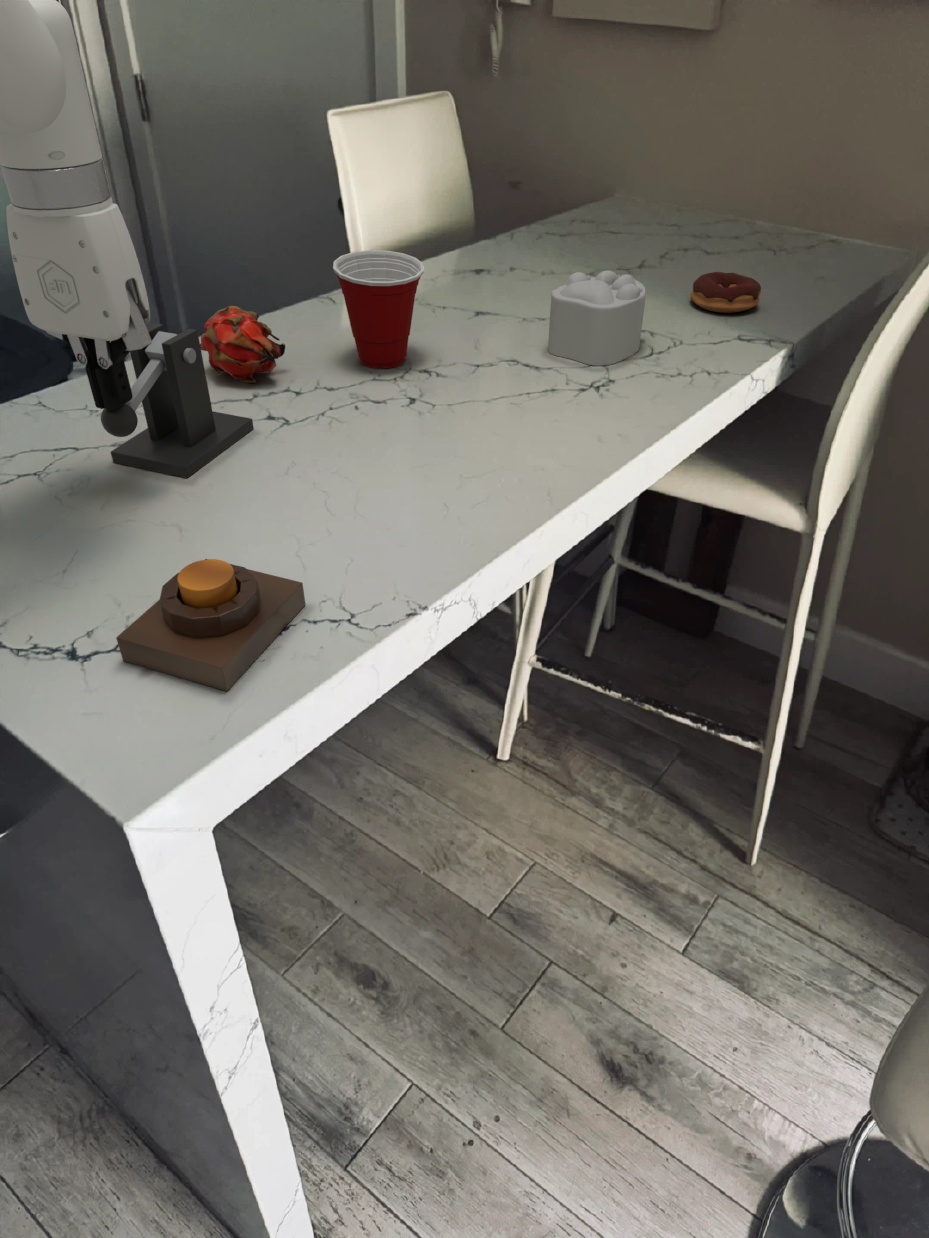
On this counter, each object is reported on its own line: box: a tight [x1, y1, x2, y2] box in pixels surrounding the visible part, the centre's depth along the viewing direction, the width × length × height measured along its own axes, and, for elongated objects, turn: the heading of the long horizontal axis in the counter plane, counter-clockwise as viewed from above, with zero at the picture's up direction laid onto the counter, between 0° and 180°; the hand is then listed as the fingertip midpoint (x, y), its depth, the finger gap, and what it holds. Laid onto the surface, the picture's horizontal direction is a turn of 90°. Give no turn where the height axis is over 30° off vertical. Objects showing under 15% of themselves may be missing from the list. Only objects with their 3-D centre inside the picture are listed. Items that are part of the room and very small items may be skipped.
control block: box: [115, 558, 306, 692], centre depth 65 cm, size 11×9×4 cm
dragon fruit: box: [200, 305, 286, 384], centre depth 104 cm, size 8×8×12 cm
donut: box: [689, 271, 762, 314], centre depth 126 cm, size 10×10×4 cm
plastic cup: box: [332, 249, 425, 370], centre depth 106 cm, size 11×11×12 cm
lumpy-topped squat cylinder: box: [547, 269, 647, 367], centre depth 112 cm, size 10×13×9 cm
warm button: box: [177, 558, 237, 609], centre depth 64 cm, size 4×4×2 cm
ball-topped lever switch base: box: [110, 322, 255, 479], centre depth 88 cm, size 12×9×12 cm
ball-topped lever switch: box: [100, 331, 178, 438], centre depth 83 cm, size 12×3×3 cm, turn 159°
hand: (115, 403), depth 80 cm, fingers closed
